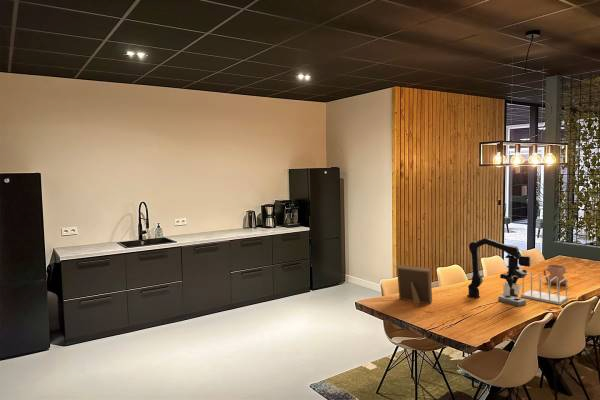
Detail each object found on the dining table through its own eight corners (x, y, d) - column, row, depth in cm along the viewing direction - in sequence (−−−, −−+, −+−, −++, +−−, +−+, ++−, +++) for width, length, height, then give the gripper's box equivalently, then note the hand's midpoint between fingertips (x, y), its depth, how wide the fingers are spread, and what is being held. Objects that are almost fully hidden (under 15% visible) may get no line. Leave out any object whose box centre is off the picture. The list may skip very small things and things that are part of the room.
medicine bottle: (509, 297, 314) (510, 280, 313) (502, 294, 321) (503, 278, 320) (518, 296, 316) (518, 279, 315) (511, 293, 323) (511, 277, 322)
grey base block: (498, 300, 307) (498, 296, 307) (505, 298, 311) (505, 294, 311) (518, 306, 294) (518, 302, 294) (525, 304, 298) (526, 300, 298)
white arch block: (504, 291, 306) (504, 281, 305) (506, 290, 307) (507, 281, 306) (517, 294, 297) (518, 285, 296) (520, 294, 298) (520, 284, 298)
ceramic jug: (571, 284, 345) (572, 266, 344) (564, 287, 335) (565, 269, 334) (547, 280, 358) (547, 262, 357) (539, 283, 349) (539, 265, 348)
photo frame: (401, 297, 316) (401, 263, 314) (432, 302, 305) (432, 266, 303) (394, 303, 304) (394, 267, 301) (426, 308, 293) (426, 271, 290)
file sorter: (568, 299, 308) (569, 277, 307) (560, 305, 296) (560, 282, 295) (530, 292, 326) (530, 271, 325) (520, 297, 314) (521, 275, 313)
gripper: (515, 269, 289) (514, 292, 290) (532, 265, 298) (531, 288, 299) (500, 265, 298) (499, 288, 300) (517, 262, 308) (516, 284, 309)
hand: (512, 287), depth 302 cm, fingers closed on white arch block, 3 cm apart
